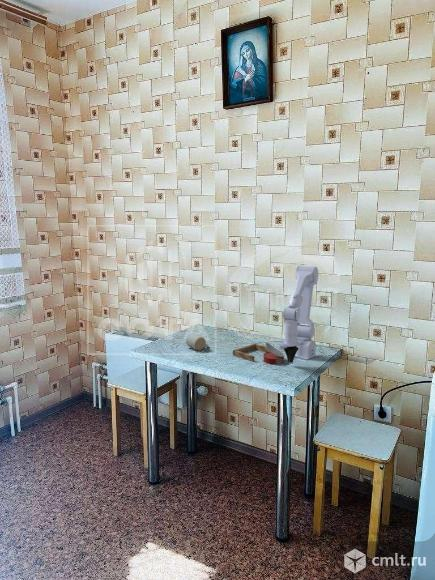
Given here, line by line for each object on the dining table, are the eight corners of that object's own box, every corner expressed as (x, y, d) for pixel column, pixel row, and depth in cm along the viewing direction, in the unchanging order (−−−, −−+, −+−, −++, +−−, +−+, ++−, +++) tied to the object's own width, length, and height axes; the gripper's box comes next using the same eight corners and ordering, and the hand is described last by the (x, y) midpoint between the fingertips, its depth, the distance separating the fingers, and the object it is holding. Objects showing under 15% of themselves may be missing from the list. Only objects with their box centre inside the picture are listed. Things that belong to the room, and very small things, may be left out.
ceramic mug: (195, 352, 222) (195, 337, 221) (186, 348, 228) (185, 334, 227) (211, 348, 229) (211, 333, 228) (201, 344, 235) (201, 330, 234)
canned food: (270, 366, 215) (276, 346, 217) (286, 370, 207) (291, 349, 209) (255, 360, 208) (261, 340, 210) (270, 363, 200) (276, 342, 202)
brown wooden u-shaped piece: (274, 353, 219) (275, 349, 218) (252, 361, 208) (252, 356, 207) (255, 348, 228) (255, 343, 228) (232, 355, 217) (232, 350, 217)
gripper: (297, 329, 206) (297, 356, 208) (272, 333, 199) (272, 362, 201) (307, 332, 200) (307, 361, 202) (282, 337, 193) (282, 366, 195)
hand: (290, 362), depth 201 cm, fingers closed
